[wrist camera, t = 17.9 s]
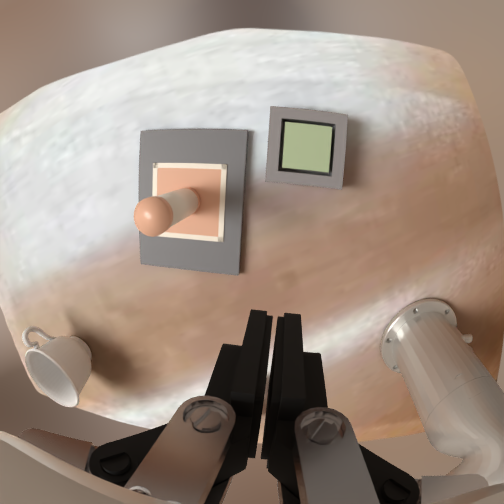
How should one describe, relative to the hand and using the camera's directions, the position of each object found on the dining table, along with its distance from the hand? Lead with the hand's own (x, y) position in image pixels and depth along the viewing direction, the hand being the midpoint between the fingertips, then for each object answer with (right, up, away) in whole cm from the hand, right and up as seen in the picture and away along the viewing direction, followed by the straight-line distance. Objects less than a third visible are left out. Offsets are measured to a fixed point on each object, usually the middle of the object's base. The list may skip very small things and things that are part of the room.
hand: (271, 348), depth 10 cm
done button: (+5, +14, +20) cm, 25 cm away
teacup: (-33, -13, +35) cm, 49 cm away
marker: (-8, +9, +24) cm, 27 cm away
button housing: (+5, +15, +21) cm, 26 cm away
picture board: (-8, +9, +24) cm, 27 cm away
